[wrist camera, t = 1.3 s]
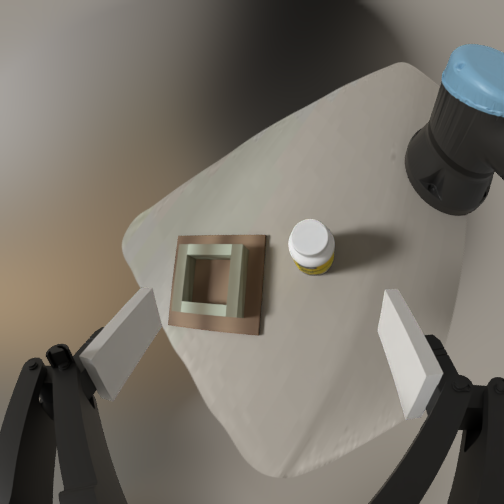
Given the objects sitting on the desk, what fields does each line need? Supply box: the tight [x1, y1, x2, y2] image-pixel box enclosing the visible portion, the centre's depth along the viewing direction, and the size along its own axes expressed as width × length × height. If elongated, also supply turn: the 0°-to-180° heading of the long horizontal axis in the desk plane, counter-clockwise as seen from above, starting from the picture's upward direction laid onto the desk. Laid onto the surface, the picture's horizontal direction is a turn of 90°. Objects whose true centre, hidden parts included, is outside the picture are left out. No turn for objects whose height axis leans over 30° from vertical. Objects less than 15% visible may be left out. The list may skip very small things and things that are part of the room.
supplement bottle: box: [288, 219, 335, 276], centre depth 34 cm, size 5×5×10 cm
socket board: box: [168, 235, 266, 335], centre depth 40 cm, size 14×14×4 cm
